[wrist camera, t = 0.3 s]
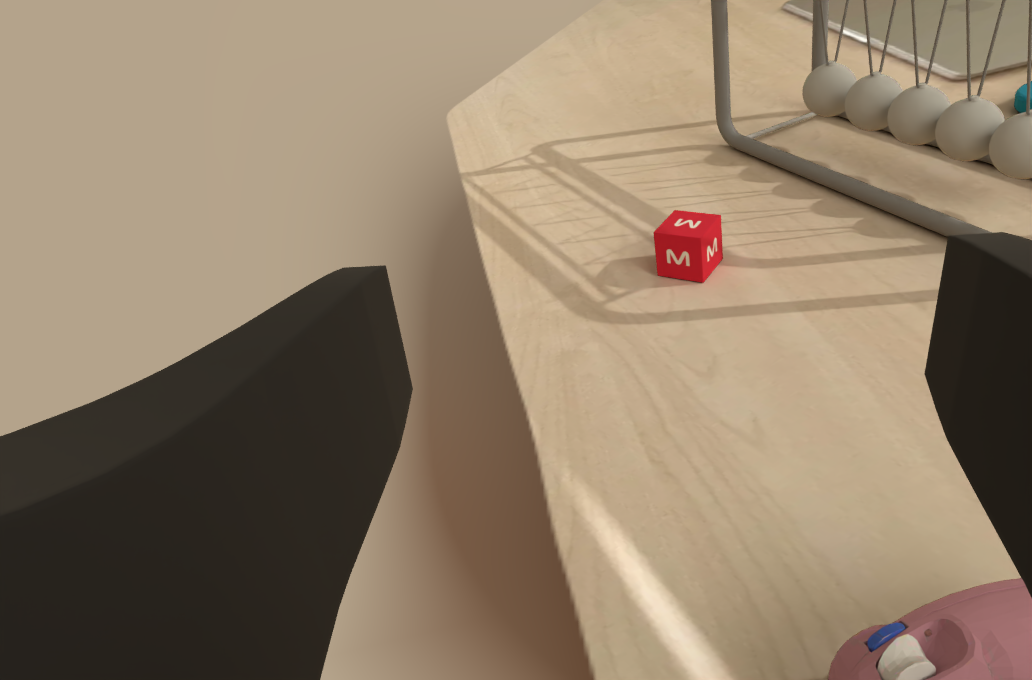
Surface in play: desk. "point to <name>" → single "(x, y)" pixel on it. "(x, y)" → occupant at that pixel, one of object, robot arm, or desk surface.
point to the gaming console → (1022, 98)
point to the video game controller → (948, 640)
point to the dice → (688, 245)
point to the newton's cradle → (887, 117)
